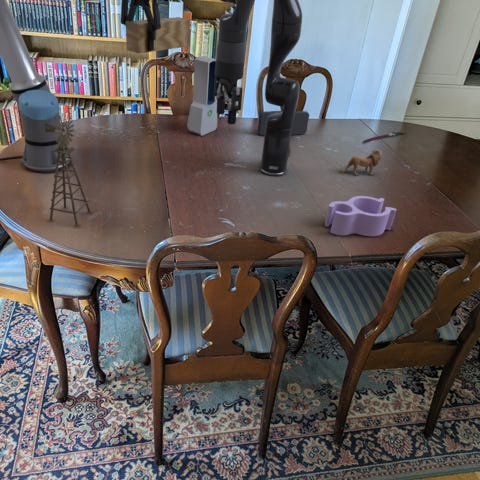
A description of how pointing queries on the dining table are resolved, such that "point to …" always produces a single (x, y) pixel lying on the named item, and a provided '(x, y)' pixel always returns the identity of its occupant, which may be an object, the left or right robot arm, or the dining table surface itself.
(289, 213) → the dining table surface
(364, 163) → the lion figurine
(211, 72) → the electronic device
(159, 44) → the bar
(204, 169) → the dining table surface
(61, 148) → the miniature windmill
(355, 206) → the clip
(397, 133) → the sword
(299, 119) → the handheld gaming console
